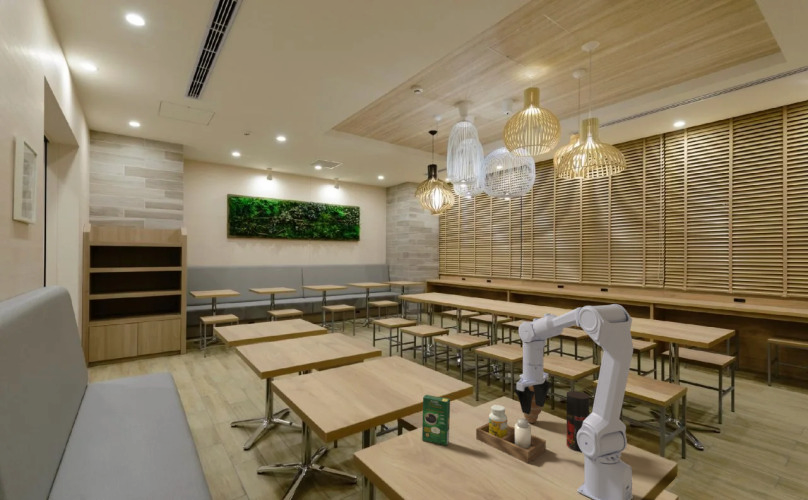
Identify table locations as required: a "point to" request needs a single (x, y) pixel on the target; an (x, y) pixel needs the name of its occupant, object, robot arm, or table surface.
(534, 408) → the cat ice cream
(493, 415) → the supplement bottle
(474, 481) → the table surface
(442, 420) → the coffee box
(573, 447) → the deodorant
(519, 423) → the shaker
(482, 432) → the caddy
